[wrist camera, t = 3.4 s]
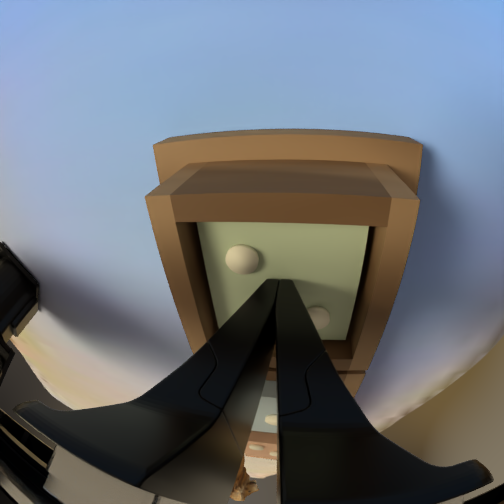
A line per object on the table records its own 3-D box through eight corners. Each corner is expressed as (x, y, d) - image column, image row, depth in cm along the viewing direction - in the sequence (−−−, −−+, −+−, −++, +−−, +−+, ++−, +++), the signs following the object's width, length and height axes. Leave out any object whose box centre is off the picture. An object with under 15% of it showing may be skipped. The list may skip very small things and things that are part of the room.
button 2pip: (342, 304, 11) (345, 343, 10) (231, 299, 12) (218, 335, 11) (357, 197, 9) (370, 226, 7) (215, 194, 10) (194, 222, 8)
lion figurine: (269, 454, 33) (259, 504, 26) (239, 453, 35) (228, 500, 28) (215, 419, 27) (195, 487, 20) (181, 418, 29) (160, 477, 22)
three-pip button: (309, 440, 18) (307, 463, 17) (250, 435, 19) (245, 458, 18) (316, 420, 16) (314, 448, 14) (244, 415, 17) (238, 442, 15)
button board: (335, 414, 22) (333, 459, 18) (233, 407, 24) (222, 449, 20) (408, 137, 9) (468, 173, 5) (169, 137, 11) (100, 171, 7)
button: (321, 406, 14) (319, 438, 13) (241, 400, 15) (233, 430, 13) (335, 363, 12) (335, 404, 10) (230, 356, 13) (219, 395, 11)
